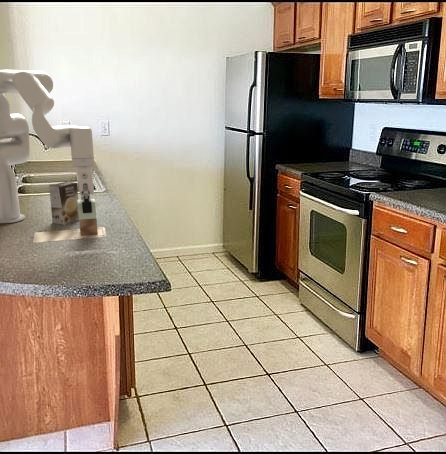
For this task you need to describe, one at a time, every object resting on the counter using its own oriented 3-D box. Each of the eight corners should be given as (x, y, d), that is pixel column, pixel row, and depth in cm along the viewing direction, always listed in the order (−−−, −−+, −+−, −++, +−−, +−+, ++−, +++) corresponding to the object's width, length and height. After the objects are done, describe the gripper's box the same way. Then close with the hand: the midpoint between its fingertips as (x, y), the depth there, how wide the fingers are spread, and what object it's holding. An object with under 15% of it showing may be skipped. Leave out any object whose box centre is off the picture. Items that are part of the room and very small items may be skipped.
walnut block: (80, 235, 179) (79, 219, 178) (80, 231, 185) (78, 215, 183) (97, 234, 181) (96, 218, 179) (96, 230, 186) (95, 214, 185)
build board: (32, 245, 172) (32, 242, 172) (35, 235, 184) (34, 232, 184) (107, 239, 179) (106, 235, 178) (104, 229, 191) (104, 226, 190)
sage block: (79, 219, 178) (77, 203, 176) (78, 215, 183) (77, 199, 182) (96, 218, 179) (95, 202, 178) (95, 214, 185) (94, 198, 183)
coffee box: (64, 227, 194) (60, 186, 190) (52, 225, 197) (48, 185, 193) (80, 221, 202) (77, 182, 198) (68, 219, 205) (65, 181, 201)
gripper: (95, 165, 169) (99, 214, 173) (93, 158, 185) (96, 204, 189) (72, 166, 167) (76, 216, 171) (72, 159, 183) (76, 205, 187)
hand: (87, 209), depth 180 cm, fingers open, 9 cm apart
